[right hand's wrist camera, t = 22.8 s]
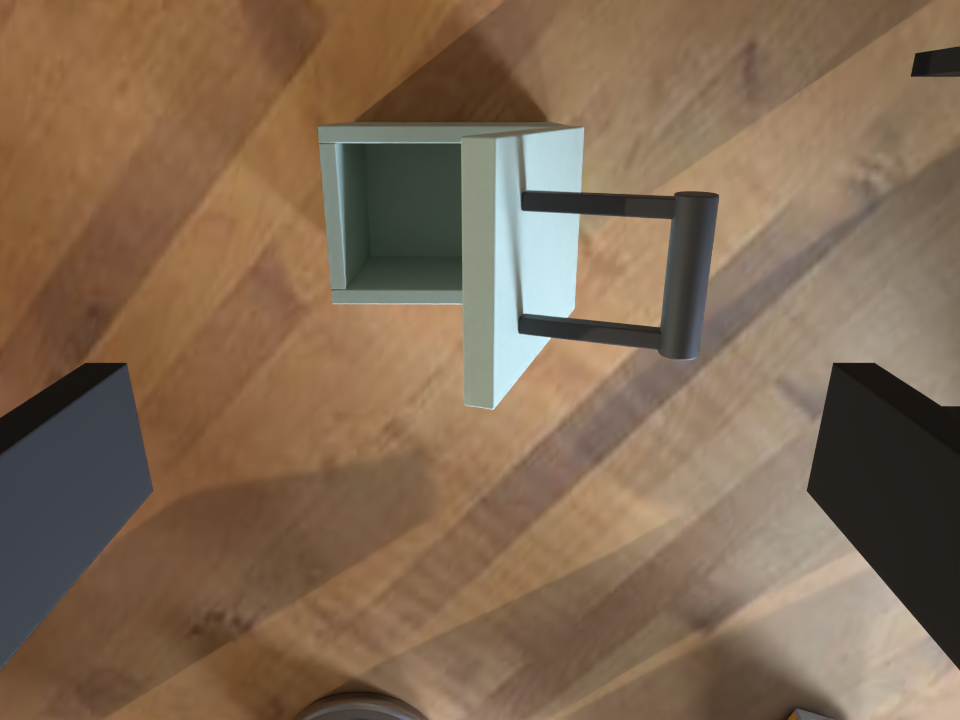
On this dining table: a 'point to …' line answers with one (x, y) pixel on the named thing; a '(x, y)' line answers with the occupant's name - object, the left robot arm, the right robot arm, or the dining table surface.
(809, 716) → the hard drive box
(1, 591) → the right robot arm
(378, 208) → the chest
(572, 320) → the lid
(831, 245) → the dining table surface
